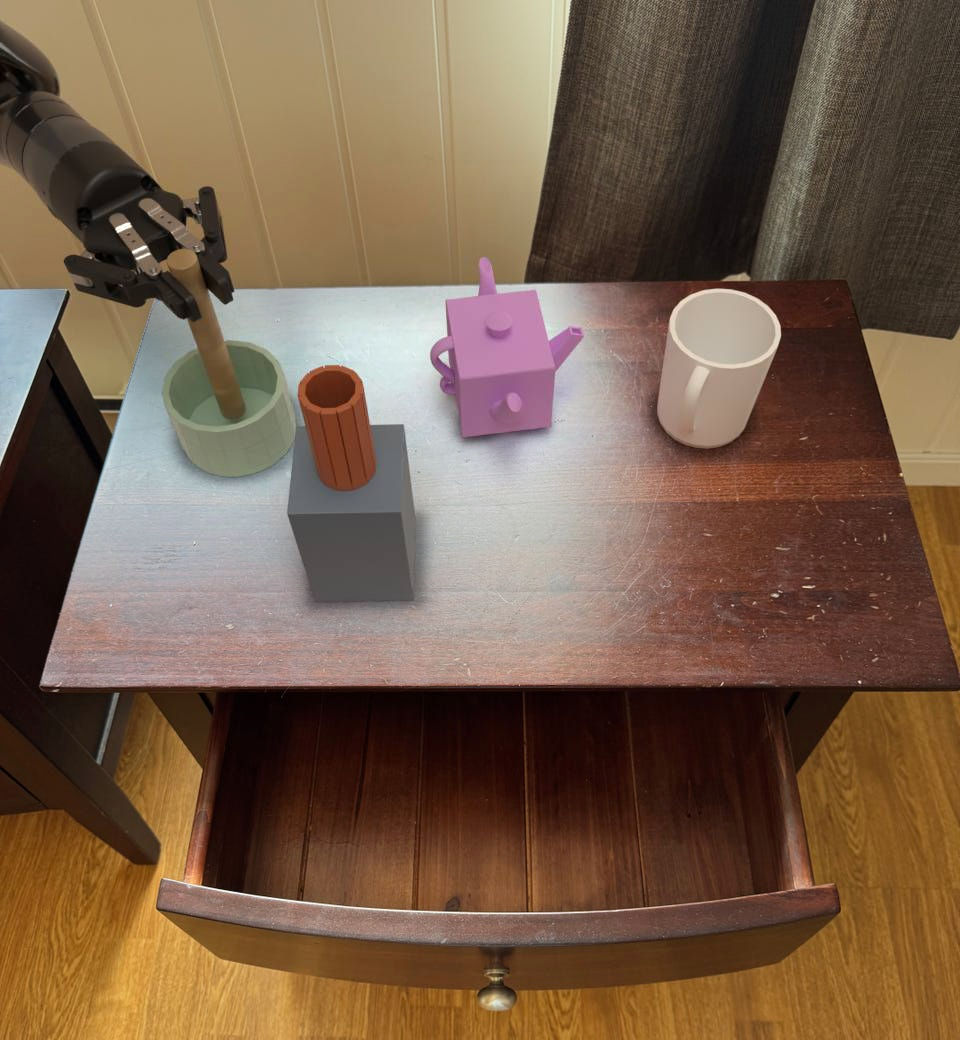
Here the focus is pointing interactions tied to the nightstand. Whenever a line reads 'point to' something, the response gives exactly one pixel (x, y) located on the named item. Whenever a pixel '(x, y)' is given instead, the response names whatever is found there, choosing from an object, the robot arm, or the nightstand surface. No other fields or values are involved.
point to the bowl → (224, 440)
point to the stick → (208, 335)
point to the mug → (715, 365)
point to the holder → (350, 494)
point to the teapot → (500, 359)
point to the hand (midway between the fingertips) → (211, 301)
